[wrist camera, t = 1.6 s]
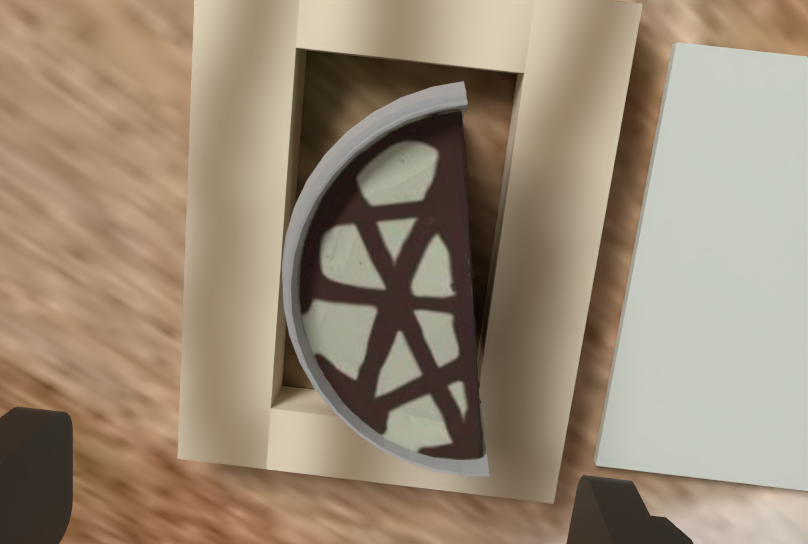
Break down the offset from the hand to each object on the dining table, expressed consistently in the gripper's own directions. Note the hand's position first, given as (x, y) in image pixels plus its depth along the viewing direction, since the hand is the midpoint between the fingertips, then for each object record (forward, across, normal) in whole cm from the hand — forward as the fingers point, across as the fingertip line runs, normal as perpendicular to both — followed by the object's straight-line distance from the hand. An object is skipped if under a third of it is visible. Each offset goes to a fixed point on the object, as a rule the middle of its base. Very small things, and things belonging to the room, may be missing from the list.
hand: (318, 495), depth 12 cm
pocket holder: (+20, 0, 0) cm, 20 cm away
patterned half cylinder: (+21, 0, 0) cm, 21 cm away
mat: (+20, -16, 0) cm, 26 cm away
